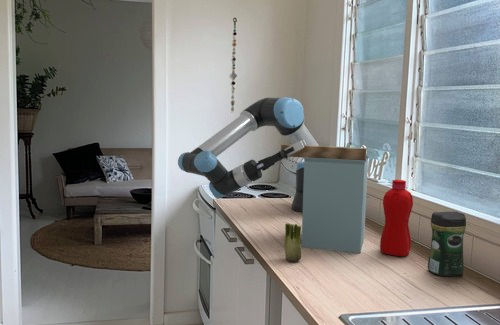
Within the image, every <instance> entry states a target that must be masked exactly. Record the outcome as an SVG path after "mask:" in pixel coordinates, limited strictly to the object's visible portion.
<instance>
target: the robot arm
mask: <svg viewBox="0 0 500 325" xmlns="http://www.w3.org/2000/svg"><path fill="white" fill-rule="evenodd" d="M304 111H305V110H304V107H303V104H302V103H301V102H300V101H299V100H297V99H296V98H293V97H288V96H287V97H286V96H284V97H265V98H264V97H263V98H261V99H259V100H257V101H255V102H254V103H251V105H249V106H248V107H246V108H245V109H243V110H242V111H241V112H240V114H239V116H238V117H236V118H235V119H234V120H232V121H231V122H230V123H229V124H227V125H226V126H224V127H223V128H222V129H220V130H219V131H218V132H216V133H215V134H213V135H212V136H211V137H209V138H208V139H207V140H205V141H204V142H202V143H201V144H200V145H199V146H198V147H196V148H195V149H192V151H190V152H189V151H187V152H182V153H181V154H180V155H179V157H178V158H177V165H178V168H179V169H180V170H181V171H183V172H186V173H189V174H194V175H198V176H201V177H205V178H206V179H207V180H208V181H209V183H208V188H209V190H210V192H211V194H212V196H213V197H215V199H222V198H223V197H227V196H229V195H231V194H232V193H234V192H236V191H237V190H239V189H242V188H243V187H245V188H247V187H249V186H248V185H250V184H251V183H252V182H255V181H258V180H260V179H261V178H262V176H263V172H264V171H266V170H268V169H270V167H273V166H274V165H276V163H278V162H280V161H282V160H283V159H288V158H289V157H287V156H289V155H291V154H293V153H295V152H297V151H299V150H301V149H303V148H304V145H312V146H320V145H319V143H318V142H317V141H316V140H315V138H314V136H313V135H312V133H311V132H310V131H309V130H308V128H307V127H306V125H305V113H304ZM266 126H267V127H274V128H275V129H276V130H277V131H278V133H279V134H280V135H281V136H283V137H286V138H287V139H288V140H289V141H290V143H291V144H292V145H291V146H289V147H288V148H286V149H284V150H285V151H284V150H282V151H281V150H279V151H277V152H276V153H275V154H272V155H270V156H267V157H264V158H262V159H260V160H258V161H256V160H254V159H249V160H248V161H246V162H244V163H243V164H240V165H238V166H236V167H234V168H233V169H230V170H227V168H226V167H225V166H224V165H223V164H222V163H221V162H220V160H219V159H218V158H217V157H218V156H220V155H221V154H222V153H224V152H225V151H226V150H228V148H230V147H231V146H233V145H234V144H236V142H238V141H240V139H242V138H244V137H245V136H246V135H247V134H249V133H250V132H255V131H257V130H258V129H260V128H262V127H266ZM295 171H296V172H295V194H294V197H293V199H292V202H291V210H292V211H296V212H299V213H301V212H302V213H303V187H304V161H299V162H297V164H296V169H295Z"/></svg>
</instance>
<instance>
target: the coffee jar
mask: <svg viewBox="0 0 500 325" xmlns="http://www.w3.org/2000/svg"><path fill="white" fill-rule="evenodd" d="M430 217H431V218H430V228H431V242H430V250H429V256H428V261H427V269H428V270H429V272H430V273H432V274H433V275H439V276H440V277H452V276H453V277H454V276H461V275H462V274H463V273H464V266H465V265H464V235H465V231H466V229H467V218H466V215H465V214H464V213H462V212H459V211H436V212H435V211H433V213H432V214H431V216H430Z"/></svg>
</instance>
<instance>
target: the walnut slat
mask: <svg viewBox="0 0 500 325" xmlns="http://www.w3.org/2000/svg"><path fill="white" fill-rule="evenodd" d="M291 145H293V144H292V143H289V144H285V143H283V144H281V145H280V151H282V150H284V149H286V148H288V147H289V146H291ZM367 149H368V148H367V147H353V146H351V147H350V146H348V147H347V146H332V145H328V146H327V145H319V146H312V145H304V148H303V149H301V150H299V151H297V152H295V153H293V154H291V155H289V156H287V157H288V158H303V159H304V158H305V157H306V158H324V159H343V160H361V161H366V156H368V155H367V154H368V150H367ZM284 151H285V150H284Z"/></svg>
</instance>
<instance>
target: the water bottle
mask: <svg viewBox="0 0 500 325" xmlns="http://www.w3.org/2000/svg"><path fill="white" fill-rule="evenodd" d="M391 180H392V181H391V182H392V184H391V189H389V190H387V191H386V192H385V194H384V195H383V200H382V207H383V208H382V209H383V212H384V225H383V229H382V233H381V235H380V236H381V237H380V241H379V242H380V243H379V249H380V252H382V253H383V254H384V255H389V256H395V257H399V256H401V257H406V256H408V254H409V253H410V252H411V247H412V245H411V244H412V243H411V242H412V238H411V234H410V226H409V220H410V216H411V213H412V210H413V206H414V197H413V195H412V192H410V191H409V190H407V188H406V187H407V186H406V185H407V181H406V180H404V179H391Z"/></svg>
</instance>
